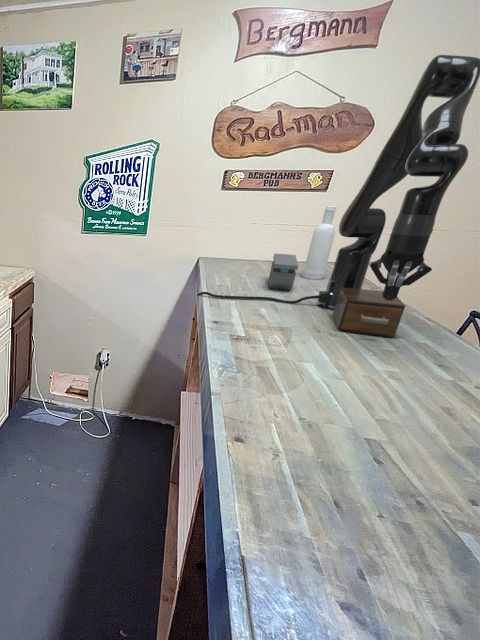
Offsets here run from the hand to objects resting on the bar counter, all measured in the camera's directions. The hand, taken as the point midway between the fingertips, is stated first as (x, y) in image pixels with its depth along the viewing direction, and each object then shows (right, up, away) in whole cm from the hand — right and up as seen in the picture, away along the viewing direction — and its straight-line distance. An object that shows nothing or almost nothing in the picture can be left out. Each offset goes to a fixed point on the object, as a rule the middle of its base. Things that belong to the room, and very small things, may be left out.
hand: (388, 299), depth 121 cm
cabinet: (+10, -5, +22) cm, 24 cm away
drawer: (+8, -6, +18) cm, 21 cm away
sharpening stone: (+13, +15, +69) cm, 71 cm away
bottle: (+36, +21, +82) cm, 92 cm away
